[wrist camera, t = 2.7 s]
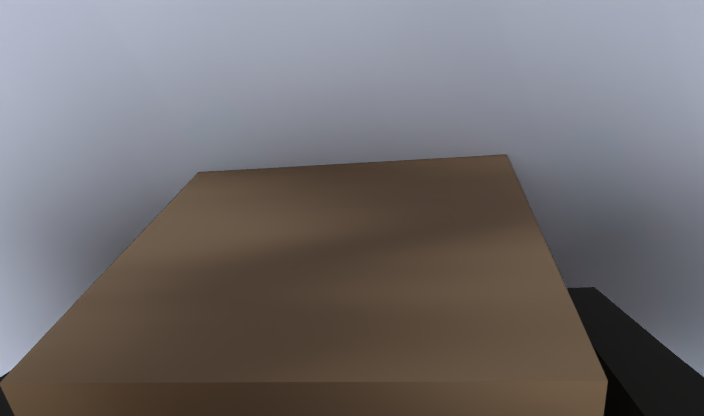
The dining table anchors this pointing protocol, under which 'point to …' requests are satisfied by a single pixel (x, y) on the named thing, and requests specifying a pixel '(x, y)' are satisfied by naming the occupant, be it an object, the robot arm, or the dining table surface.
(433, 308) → the walnut block
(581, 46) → the dining table surface
